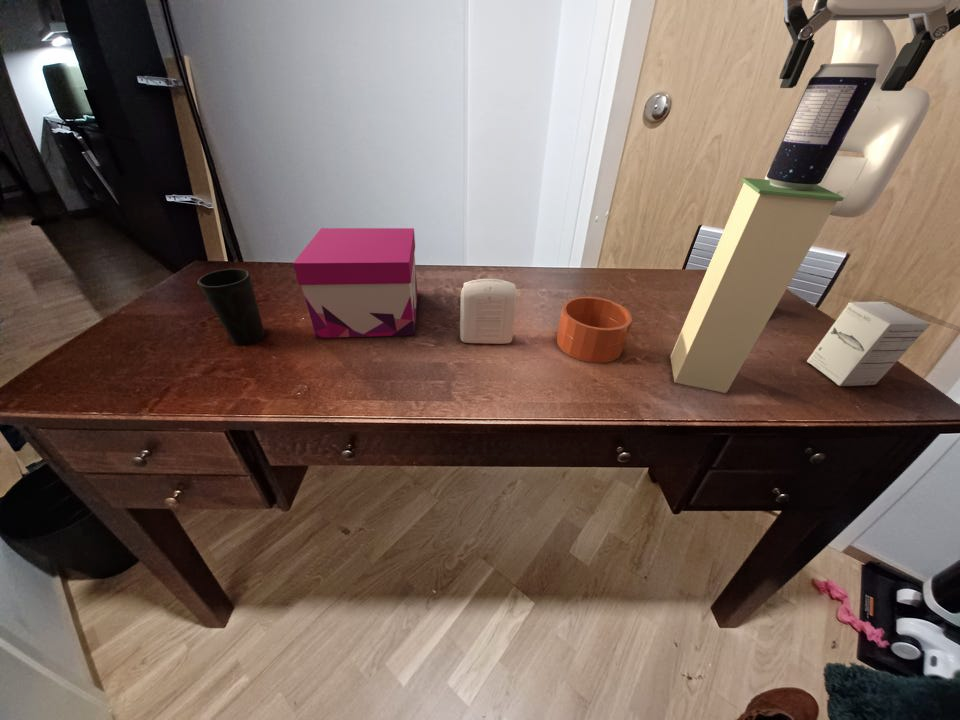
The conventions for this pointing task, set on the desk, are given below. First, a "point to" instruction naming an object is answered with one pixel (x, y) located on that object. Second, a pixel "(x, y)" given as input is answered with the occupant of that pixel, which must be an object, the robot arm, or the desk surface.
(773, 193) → the mat
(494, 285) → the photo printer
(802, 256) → the plant stand
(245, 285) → the cup
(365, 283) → the decorative box
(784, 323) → the desk surface
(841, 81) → the beverage can
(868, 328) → the white packaging box
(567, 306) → the pot
